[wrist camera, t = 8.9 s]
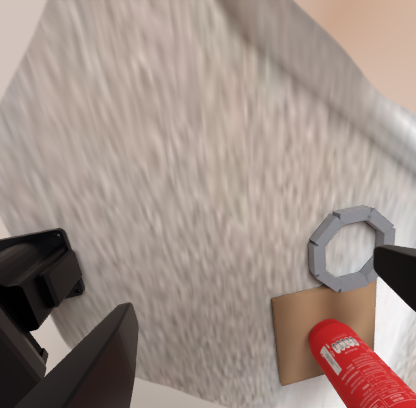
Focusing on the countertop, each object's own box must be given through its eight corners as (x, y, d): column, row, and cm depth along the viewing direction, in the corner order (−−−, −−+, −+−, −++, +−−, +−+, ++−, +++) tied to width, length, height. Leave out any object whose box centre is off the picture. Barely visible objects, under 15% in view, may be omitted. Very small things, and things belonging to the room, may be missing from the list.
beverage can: (349, 313, 25) (496, 451, 14) (342, 350, 26) (472, 506, 15) (307, 317, 24) (424, 467, 13) (302, 355, 26) (404, 523, 14)
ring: (310, 293, 24) (315, 298, 24) (306, 216, 22) (312, 219, 21) (383, 275, 25) (392, 280, 24) (387, 199, 23) (397, 202, 22)
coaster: (279, 381, 27) (282, 386, 26) (271, 298, 24) (273, 302, 23) (369, 356, 28) (373, 360, 28) (372, 274, 25) (376, 277, 24)
